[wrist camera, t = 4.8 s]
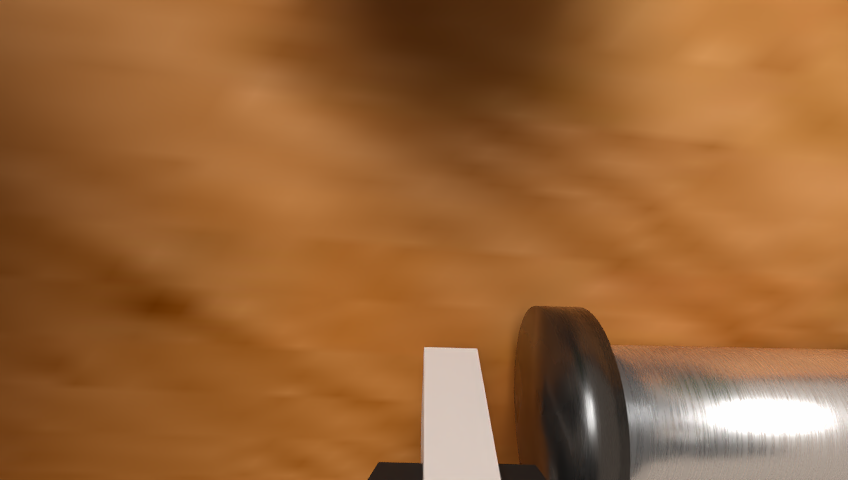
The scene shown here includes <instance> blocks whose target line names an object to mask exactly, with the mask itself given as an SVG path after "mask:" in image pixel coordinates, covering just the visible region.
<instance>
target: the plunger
mask: <svg viewBox="0 0 848 480" xmlns="http://www.w3.org/2000/svg"><path fill="white" fill-rule="evenodd" d="M514 403H515V423H516V435H517V445H518V453H519V460H520V465H536V466H537V468H538V469H539V470H540V472H541V473H542V474H543V476H544V477H545V478H546V480H848V350H840V349H788V348H737V347H685V346H633V345H610V343H609V340H608V338H607V336H606V334H605V332H604V330H603V328H602V327H601V325H600V323H599V322H598V320H597V319H596V318H595V317H594V315H593V314H591V313H590V312H589V311H588V310H586V309H584V308H581V307H549V306H534V307H531V308H530V309H529V310H528V311H527V313H526V314H525V316H524V319H523V321H522V324H521V328H520V332H519V337H518V342H517V350H516V360H515V378H514Z"/></svg>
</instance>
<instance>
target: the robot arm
mask: <svg viewBox="0 0 848 480" xmlns="http://www.w3.org/2000/svg"><path fill="white" fill-rule="evenodd" d="M368 480H546V478H545V477H544V476H543V474H542V473H541V472H540V470H539V469H538V468H537V466H536V465H519V464H498V461H497V456H496V450H495V445H494V439H493V433H492V428H491V422H490V417H489V411H488V406H487V400H486V395H485V389H484V384H483V378H482V373H481V367H480V362H479V356H478V351H477V349H473V348H438V347H424V365H423V391H422V418H421V463H389V462H379V463H378V464H377V466H376V467H375V469H374V471H373V472H372V474H371V475H370V477H369V479H368Z"/></svg>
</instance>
